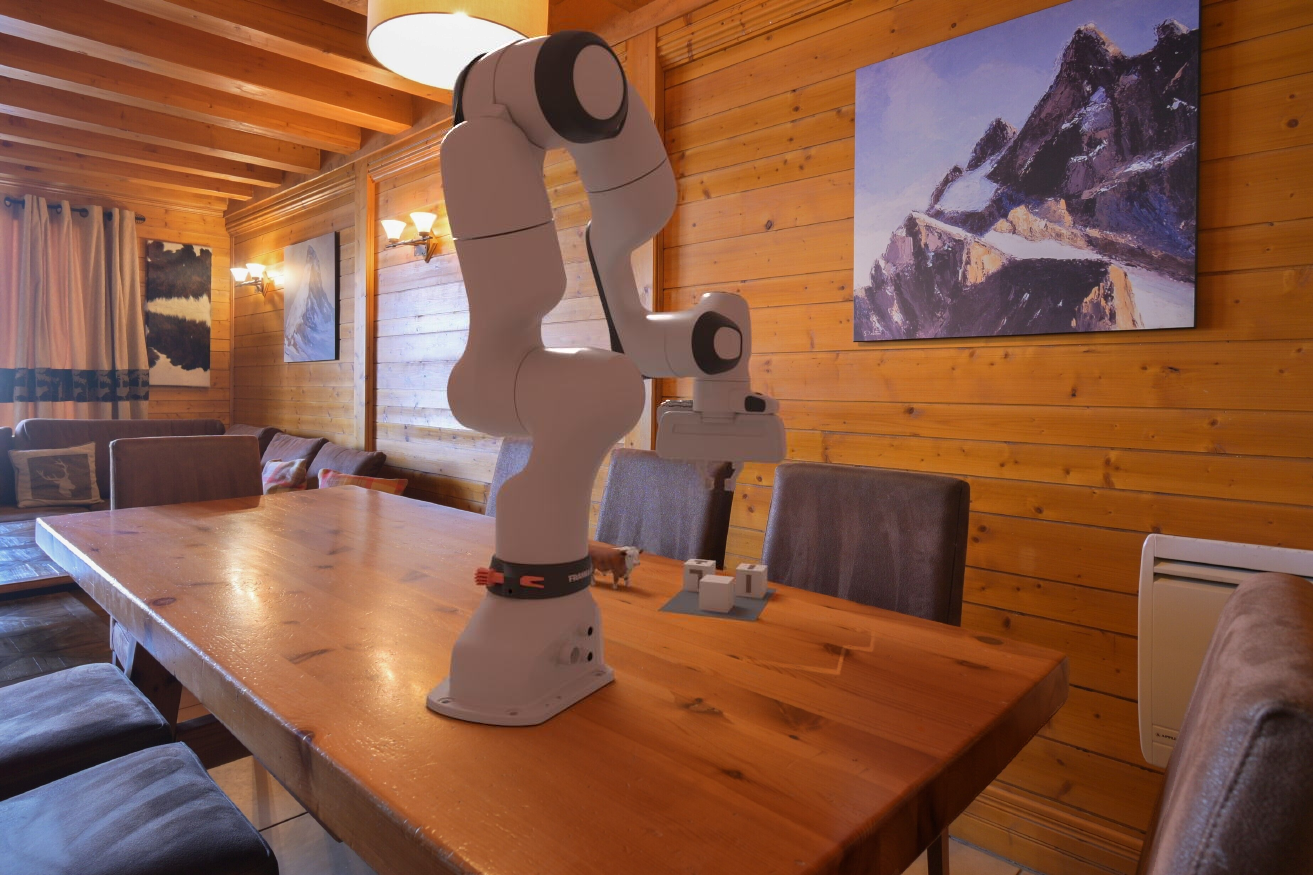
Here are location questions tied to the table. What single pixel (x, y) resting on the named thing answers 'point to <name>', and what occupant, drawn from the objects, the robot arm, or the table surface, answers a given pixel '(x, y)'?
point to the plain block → (716, 593)
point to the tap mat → (740, 611)
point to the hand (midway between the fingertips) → (719, 489)
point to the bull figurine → (614, 562)
